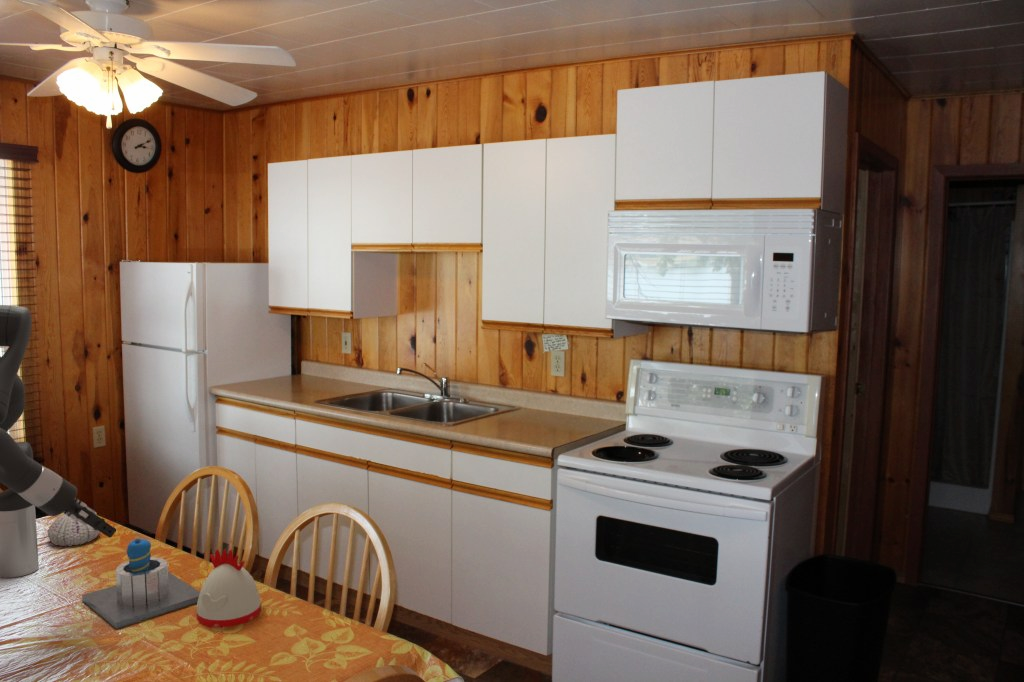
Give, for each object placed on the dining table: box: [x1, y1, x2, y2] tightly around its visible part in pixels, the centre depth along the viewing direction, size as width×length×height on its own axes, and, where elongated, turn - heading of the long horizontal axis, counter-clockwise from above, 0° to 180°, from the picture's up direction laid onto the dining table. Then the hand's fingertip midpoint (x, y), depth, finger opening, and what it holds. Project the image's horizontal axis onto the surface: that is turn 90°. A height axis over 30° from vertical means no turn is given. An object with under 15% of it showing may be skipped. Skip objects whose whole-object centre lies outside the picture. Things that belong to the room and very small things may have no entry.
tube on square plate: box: [81, 556, 200, 630], centre depth 192 cm, size 20×20×8 cm
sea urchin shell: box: [47, 514, 101, 547], centre depth 230 cm, size 13×14×8 cm
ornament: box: [126, 534, 152, 573], centre depth 191 cm, size 5×5×15 cm
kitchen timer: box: [196, 548, 262, 628], centre depth 186 cm, size 14×14×15 cm
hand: (105, 528), depth 185 cm, fingers open, 8 cm apart
